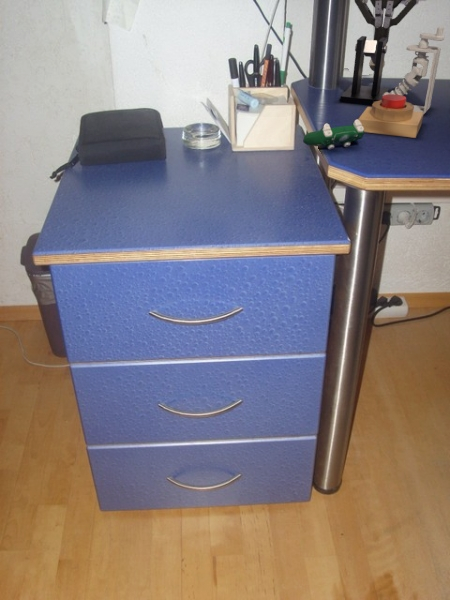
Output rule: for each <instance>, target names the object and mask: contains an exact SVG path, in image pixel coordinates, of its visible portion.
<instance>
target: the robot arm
mask: <svg viewBox="0 0 450 600" xmlns="http://www.w3.org/2000/svg"><path fill="white" fill-rule="evenodd" d="M369 1H370V2H371V5H372V7H373V8H374V14H373V13H372V11H371V9H370V7H369V5H368V2H369ZM402 2H403V0H354V3H355V5H356V6H357V8H358V10H359V12H360V14H361V15H362V17H363V18H364V20H365V22H366V24H367V25H371V26H373V27H374V33H373V40H377V42H378V41H379V40H380V39H381V38H382V37H384V38H387V42H386V45H388V42H389V37H390V30H391V27H394V26H398V24H400V23H401V22H402V20H403V19H404V18H405V17H407V15H408V14H409V13H410V12H411V10H413V8H414V7H415V6H416V5H417V4H418V2H419V0H405V1H404V2H403V4H404V7H403V9H402V10H401V11H400V12H399V13H398V14H397V15H396V17H394V18H393V16H394V13H395V9H396V8H397V7H399V5H400V4H401V3H402Z"/></svg>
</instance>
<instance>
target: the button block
mask: <svg viewBox="0 0 450 600" xmlns="http://www.w3.org/2000/svg"><path fill="white" fill-rule="evenodd" d="M381 103H382V100H380V101H376V102H374V103H373V104H372V105H371V106H367V107H366V108H365V109H364V111H363V112H362V114H361V115H360V116H359V117H358V120H359V121H360V122H361V124H362V126H363V128H364V133H368V134H369V133H370V134H378V135H388V136H393V137H403V138H410V139H411V138H412V139H416V138H417V136H418V134H419V132H420V129H421V127H422V125H423V118H424V115H425V114H424V113H423V112H414V111H413V110H414V104H412V103H411V102H408V101H406V103H405V108H402V109H390V108H385V107H382V106H381Z"/></svg>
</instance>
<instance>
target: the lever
mask: <svg viewBox="0 0 450 600" xmlns="http://www.w3.org/2000/svg"><path fill="white" fill-rule="evenodd" d="M377 45H378V42H377V40H374V39H366V41H365V47H364V57H366V58H367V57H369V58H370V60H369V69H370V70H371V71H372V72H374V69H375V61H376V53H377ZM385 65H386V61H385V60H384V64H383V68H385Z"/></svg>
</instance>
